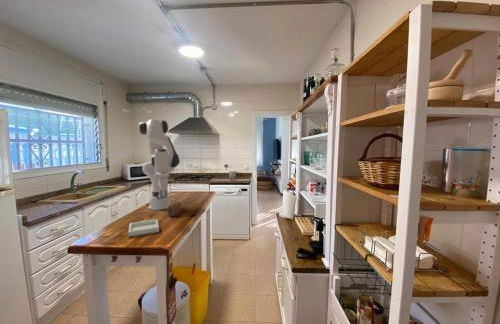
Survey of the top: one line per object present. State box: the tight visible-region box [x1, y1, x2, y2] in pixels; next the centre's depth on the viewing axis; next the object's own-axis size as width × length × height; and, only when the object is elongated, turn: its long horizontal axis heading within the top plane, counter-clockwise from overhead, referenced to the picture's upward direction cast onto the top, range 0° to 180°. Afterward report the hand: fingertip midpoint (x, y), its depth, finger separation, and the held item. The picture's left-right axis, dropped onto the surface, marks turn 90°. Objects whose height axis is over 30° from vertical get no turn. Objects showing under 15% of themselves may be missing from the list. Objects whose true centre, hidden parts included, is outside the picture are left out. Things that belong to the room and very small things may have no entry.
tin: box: [167, 201, 182, 217], centre depth 165 cm, size 15×3×8 cm, turn 168°
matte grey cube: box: [159, 189, 168, 198], centre depth 144 cm, size 4×4×5 cm
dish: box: [127, 218, 160, 238], centre depth 134 cm, size 16×16×3 cm
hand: (163, 194), depth 144 cm, fingers closed on matte grey cube, 4 cm apart
